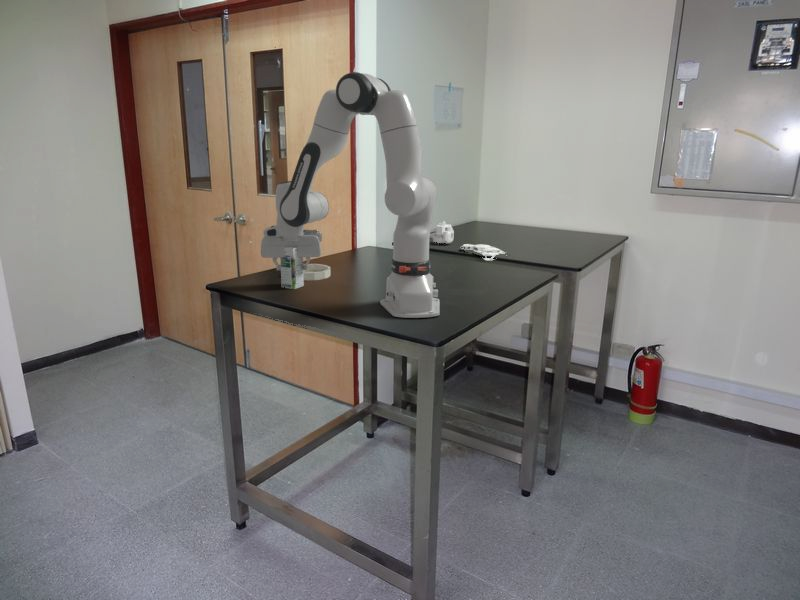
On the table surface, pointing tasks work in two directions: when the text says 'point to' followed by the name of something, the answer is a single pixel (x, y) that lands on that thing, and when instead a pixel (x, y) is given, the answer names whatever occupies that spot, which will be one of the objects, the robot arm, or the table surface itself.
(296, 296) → the table surface
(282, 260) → the syrup box
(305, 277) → the round bowl
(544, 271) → the table surface
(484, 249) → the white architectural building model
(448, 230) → the mechanical part
